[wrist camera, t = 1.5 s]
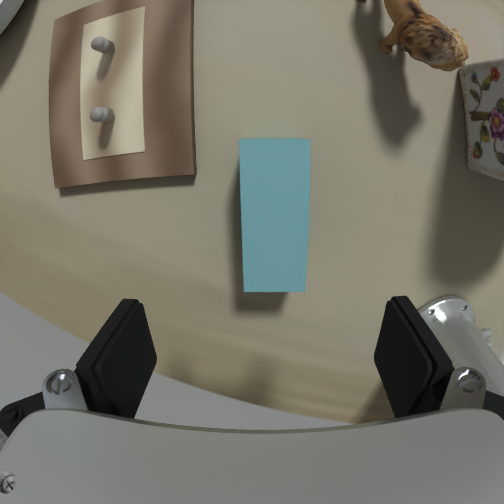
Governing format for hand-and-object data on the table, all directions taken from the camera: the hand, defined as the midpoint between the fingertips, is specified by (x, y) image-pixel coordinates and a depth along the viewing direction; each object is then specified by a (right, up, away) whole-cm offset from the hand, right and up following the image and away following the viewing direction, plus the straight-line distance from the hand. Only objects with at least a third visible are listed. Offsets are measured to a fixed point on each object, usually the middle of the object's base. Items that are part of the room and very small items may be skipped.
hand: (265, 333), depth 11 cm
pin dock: (-14, +20, +13) cm, 27 cm away
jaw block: (+1, +8, +17) cm, 19 cm away
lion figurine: (+13, +26, +9) cm, 30 cm away
